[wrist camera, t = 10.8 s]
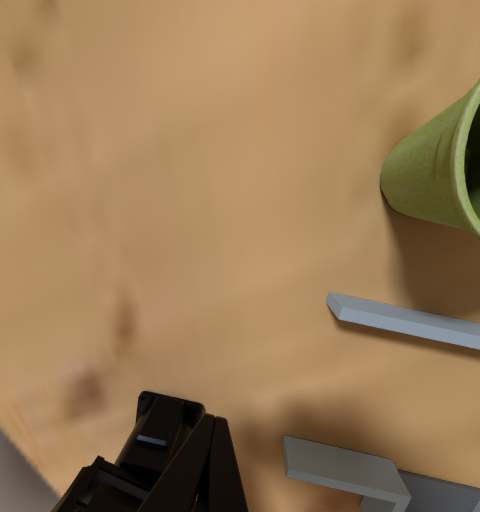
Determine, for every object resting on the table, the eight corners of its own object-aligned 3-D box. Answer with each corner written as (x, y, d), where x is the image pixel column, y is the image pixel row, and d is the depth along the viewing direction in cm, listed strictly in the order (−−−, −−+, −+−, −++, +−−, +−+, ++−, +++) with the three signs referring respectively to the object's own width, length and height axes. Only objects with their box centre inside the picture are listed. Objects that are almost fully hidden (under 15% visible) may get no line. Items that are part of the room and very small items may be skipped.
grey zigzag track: (546, 549, 23) (587, 597, 21) (269, 484, 24) (271, 522, 21) (736, 301, 17) (836, 321, 14) (350, 222, 18) (369, 225, 15)
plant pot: (377, 94, 16) (521, -38, 7) (512, 116, 15) (824, 5, 7) (341, 225, 18) (420, 241, 9) (460, 245, 18) (651, 282, 9)
